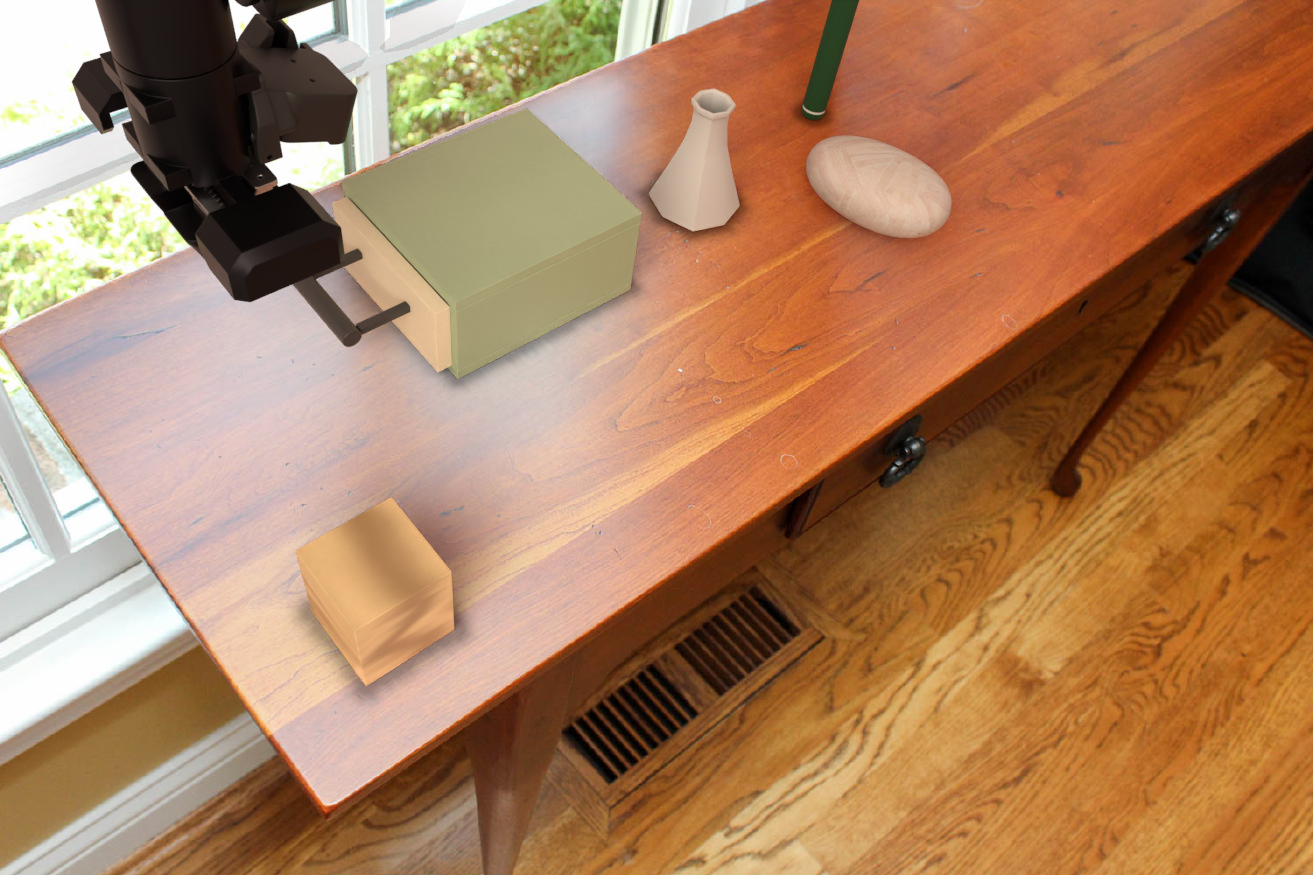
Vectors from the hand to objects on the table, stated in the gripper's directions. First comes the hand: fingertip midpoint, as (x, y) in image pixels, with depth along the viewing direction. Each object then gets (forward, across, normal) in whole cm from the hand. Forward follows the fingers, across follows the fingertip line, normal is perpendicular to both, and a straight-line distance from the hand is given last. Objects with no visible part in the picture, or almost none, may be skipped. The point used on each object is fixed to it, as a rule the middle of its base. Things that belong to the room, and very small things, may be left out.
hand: (233, 275), depth 64 cm
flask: (+10, -2, -38) cm, 39 cm away
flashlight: (+10, +1, -55) cm, 56 cm away
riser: (+10, -20, +3) cm, 22 cm away
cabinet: (+10, 0, -19) cm, 22 cm away
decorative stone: (+10, -11, -50) cm, 52 cm away
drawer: (+9, 0, -15) cm, 17 cm away
